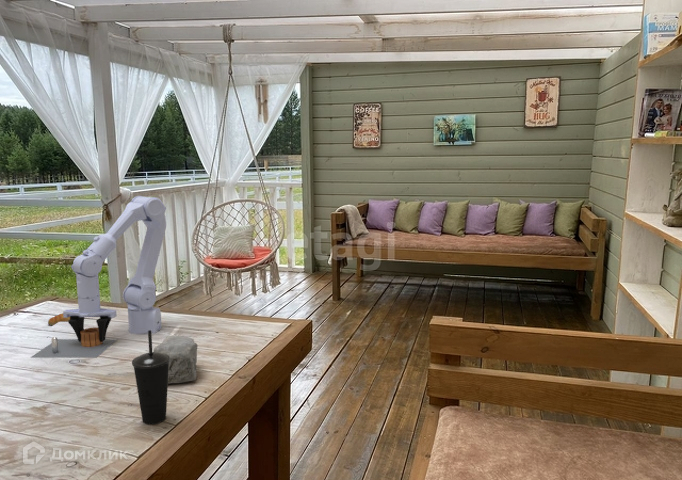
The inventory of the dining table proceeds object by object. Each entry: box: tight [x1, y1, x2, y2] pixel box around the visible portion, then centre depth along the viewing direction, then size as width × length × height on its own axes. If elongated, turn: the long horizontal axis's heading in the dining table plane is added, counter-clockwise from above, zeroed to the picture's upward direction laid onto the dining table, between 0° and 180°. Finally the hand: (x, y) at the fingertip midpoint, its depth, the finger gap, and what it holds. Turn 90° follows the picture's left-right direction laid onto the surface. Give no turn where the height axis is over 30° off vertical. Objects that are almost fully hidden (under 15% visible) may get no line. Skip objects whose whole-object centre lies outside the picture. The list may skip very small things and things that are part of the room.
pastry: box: [47, 312, 70, 327], centre depth 172 cm, size 9×7×4 cm
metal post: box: [51, 336, 59, 354], centre depth 142 cm, size 2×2×4 cm
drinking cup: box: [131, 330, 170, 426], centre depth 109 cm, size 8×8×20 cm
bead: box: [81, 326, 103, 347], centre depth 149 cm, size 6×6×4 cm
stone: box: [152, 335, 199, 385], centre depth 131 cm, size 13×12×10 cm
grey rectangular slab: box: [30, 338, 118, 359], centre depth 146 cm, size 18×14×2 cm
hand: (92, 340), depth 150 cm, fingers closed on bead, 6 cm apart
